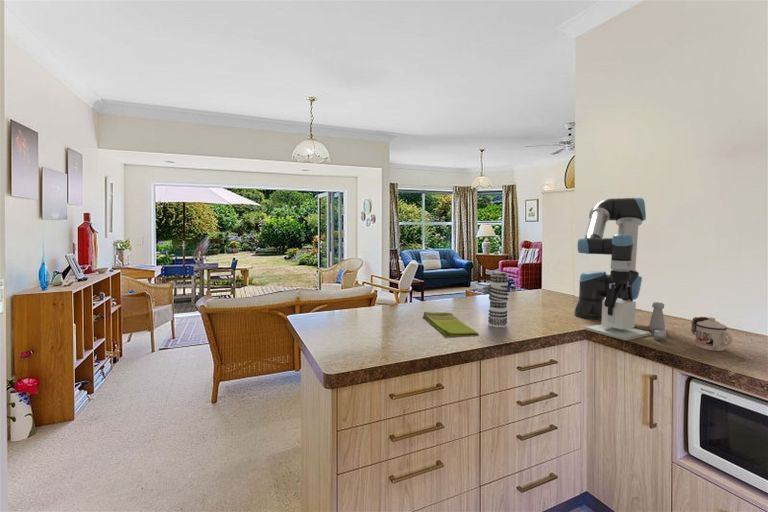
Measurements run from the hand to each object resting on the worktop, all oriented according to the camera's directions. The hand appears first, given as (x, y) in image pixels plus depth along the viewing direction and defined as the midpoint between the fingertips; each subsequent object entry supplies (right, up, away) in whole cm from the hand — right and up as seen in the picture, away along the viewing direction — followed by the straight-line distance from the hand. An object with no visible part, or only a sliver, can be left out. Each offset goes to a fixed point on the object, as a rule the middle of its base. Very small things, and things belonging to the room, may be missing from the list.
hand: (617, 321), depth 167 cm
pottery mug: (+37, -6, 0) cm, 38 cm away
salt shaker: (+18, -5, +2) cm, 19 cm away
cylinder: (+10, -6, -11) cm, 16 cm away
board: (0, -5, 0) cm, 5 cm away
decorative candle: (-49, -4, +11) cm, 51 cm away
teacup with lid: (+23, -7, -22) cm, 33 cm away
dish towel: (-72, -5, +11) cm, 73 cm away
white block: (0, -2, 0) cm, 2 cm away
